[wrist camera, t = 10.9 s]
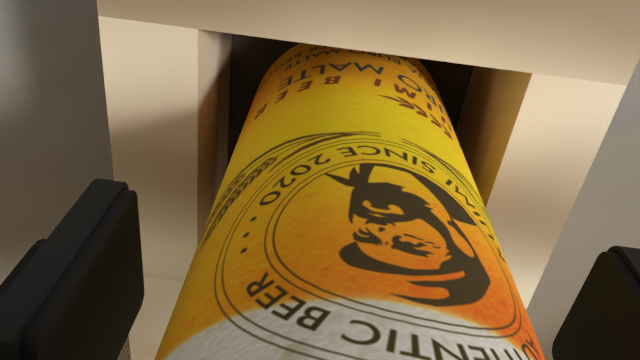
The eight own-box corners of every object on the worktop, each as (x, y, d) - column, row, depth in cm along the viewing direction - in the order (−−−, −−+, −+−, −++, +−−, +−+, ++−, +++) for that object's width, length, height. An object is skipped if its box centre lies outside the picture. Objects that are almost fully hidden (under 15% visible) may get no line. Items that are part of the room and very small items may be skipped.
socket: (152, -197, 13) (75, -220, 10) (615, -130, 14) (722, -126, 10) (169, 278, 22) (131, 368, 18) (457, 312, 22) (482, 408, 18)
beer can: (463, 44, 16) (910, 747, 3) (410, 205, 19) (537, 884, 7) (267, 6, 16) (-61, 631, 3) (246, 176, 19) (40, 834, 6)
